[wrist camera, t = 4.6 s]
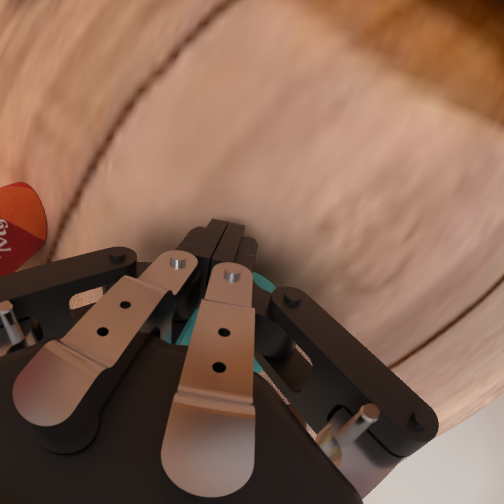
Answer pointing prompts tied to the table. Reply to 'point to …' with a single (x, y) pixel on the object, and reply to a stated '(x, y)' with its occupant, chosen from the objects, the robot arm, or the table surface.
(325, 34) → the table surface
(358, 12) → the table surface
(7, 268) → the paper cup
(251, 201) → the table surface
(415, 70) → the table surface
